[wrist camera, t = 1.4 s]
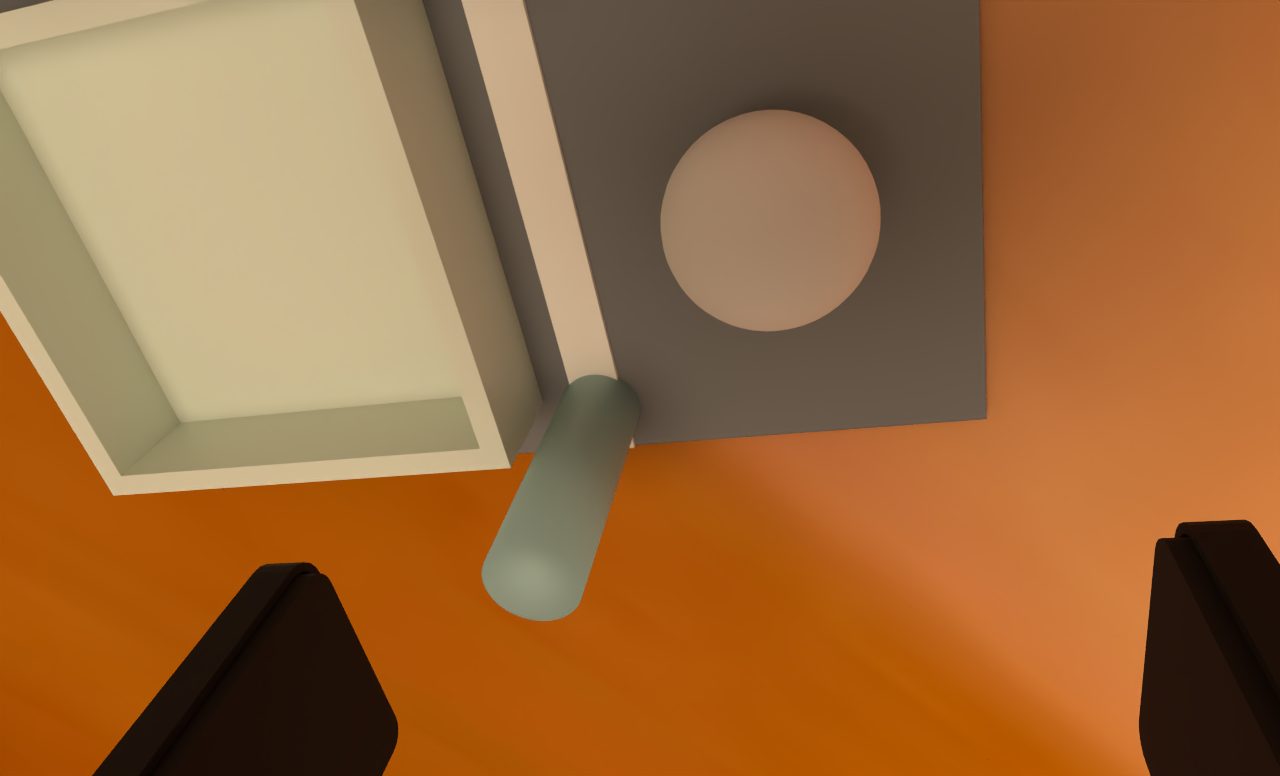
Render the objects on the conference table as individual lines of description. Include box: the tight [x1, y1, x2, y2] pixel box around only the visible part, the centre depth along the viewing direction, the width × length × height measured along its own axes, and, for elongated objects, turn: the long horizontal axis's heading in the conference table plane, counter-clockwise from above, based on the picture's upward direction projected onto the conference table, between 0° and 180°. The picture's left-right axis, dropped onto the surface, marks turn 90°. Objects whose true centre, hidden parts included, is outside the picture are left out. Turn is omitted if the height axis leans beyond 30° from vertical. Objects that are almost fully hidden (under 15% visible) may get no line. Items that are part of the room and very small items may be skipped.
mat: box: [0, 0, 987, 454], centre depth 24 cm, size 17×27×1 cm, turn 102°
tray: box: [0, 0, 543, 496], centre depth 24 cm, size 13×13×3 cm
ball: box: [661, 110, 881, 331], centre depth 20 cm, size 5×5×5 cm
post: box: [482, 375, 640, 621], centre depth 24 cm, size 2×2×8 cm
